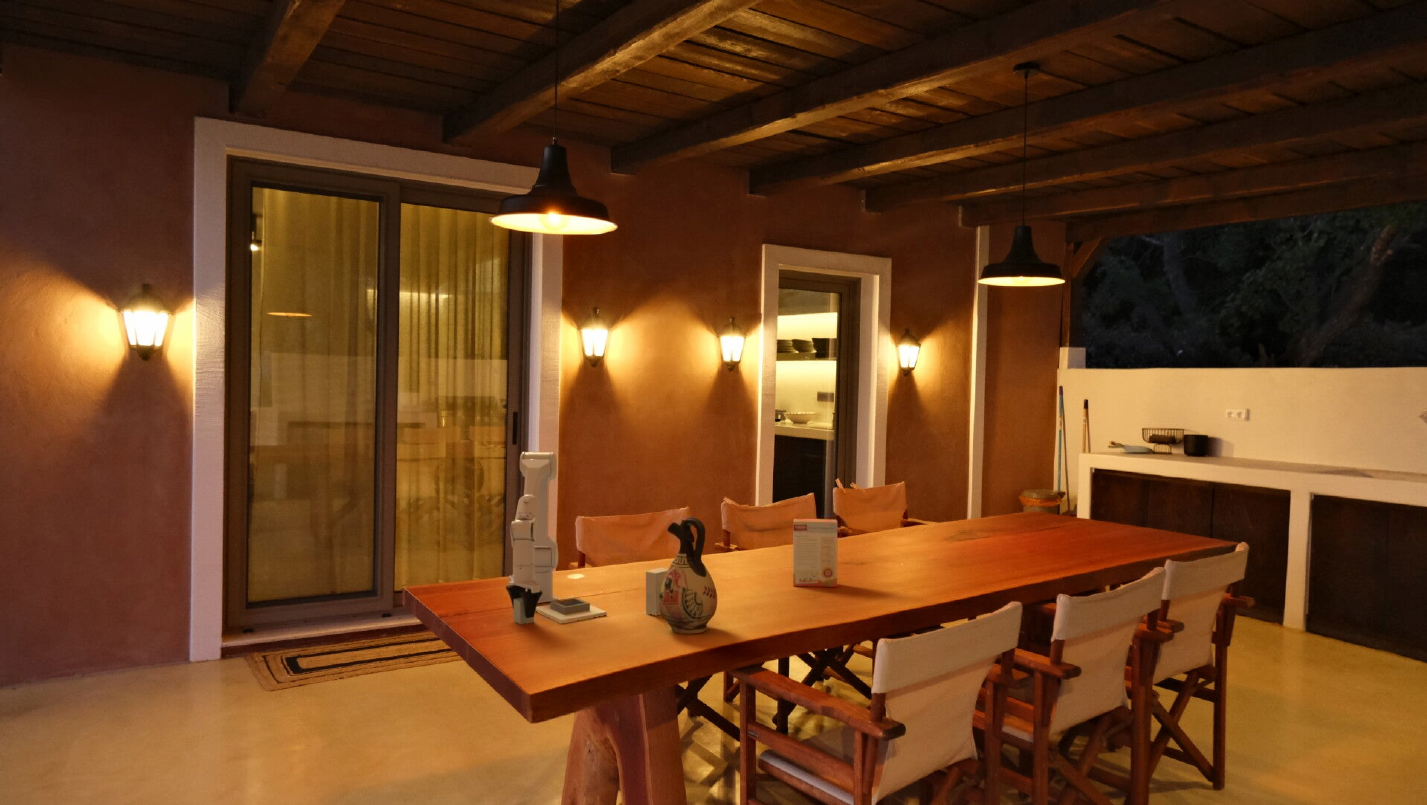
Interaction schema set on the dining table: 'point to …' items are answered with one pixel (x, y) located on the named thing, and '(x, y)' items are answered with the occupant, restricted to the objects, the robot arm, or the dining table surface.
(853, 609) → the dining table surface
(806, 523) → the cracker box
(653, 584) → the skincare box
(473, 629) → the dining table surface
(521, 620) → the peg
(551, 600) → the robot arm
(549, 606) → the socket holder
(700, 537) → the ceramic jug
